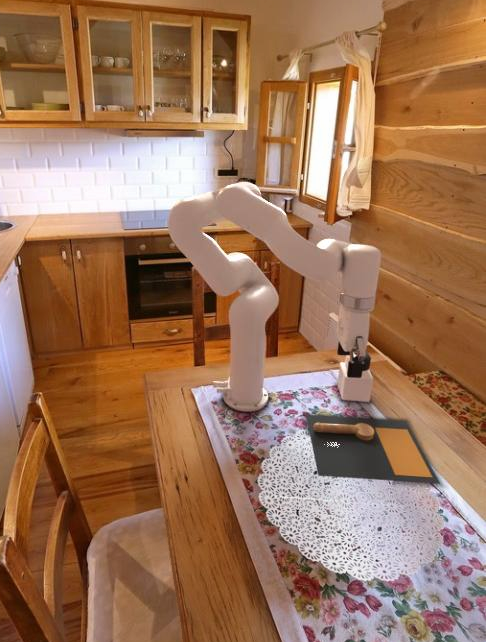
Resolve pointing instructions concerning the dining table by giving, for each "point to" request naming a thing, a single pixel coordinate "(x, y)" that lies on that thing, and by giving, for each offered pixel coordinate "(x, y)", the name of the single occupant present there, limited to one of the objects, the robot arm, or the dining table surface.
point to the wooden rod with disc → (346, 429)
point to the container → (355, 382)
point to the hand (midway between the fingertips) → (348, 365)
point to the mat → (370, 451)
